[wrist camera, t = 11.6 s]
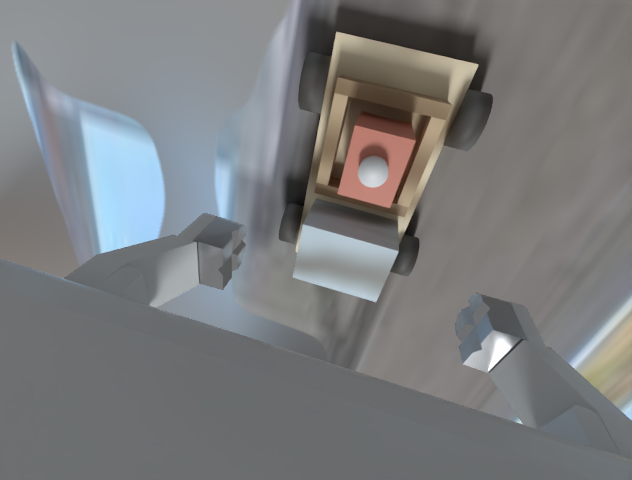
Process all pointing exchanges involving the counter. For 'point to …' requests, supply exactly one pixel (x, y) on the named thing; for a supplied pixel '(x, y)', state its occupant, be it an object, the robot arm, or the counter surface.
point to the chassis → (333, 144)
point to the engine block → (376, 159)
